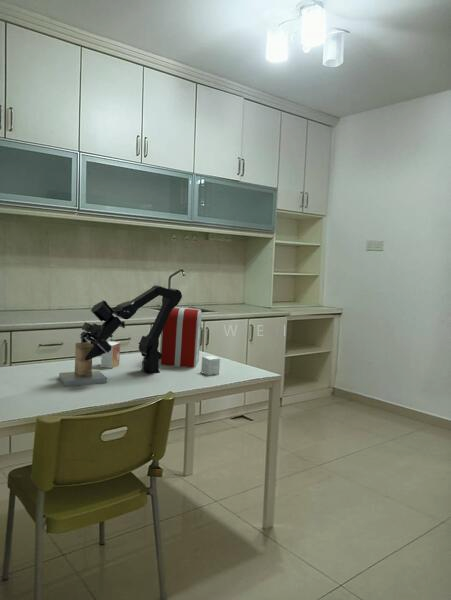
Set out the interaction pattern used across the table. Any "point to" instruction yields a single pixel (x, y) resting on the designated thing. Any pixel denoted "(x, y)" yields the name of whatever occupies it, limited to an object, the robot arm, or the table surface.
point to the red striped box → (181, 338)
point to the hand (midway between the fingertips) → (80, 357)
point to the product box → (210, 365)
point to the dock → (73, 380)
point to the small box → (111, 356)
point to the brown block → (83, 360)
